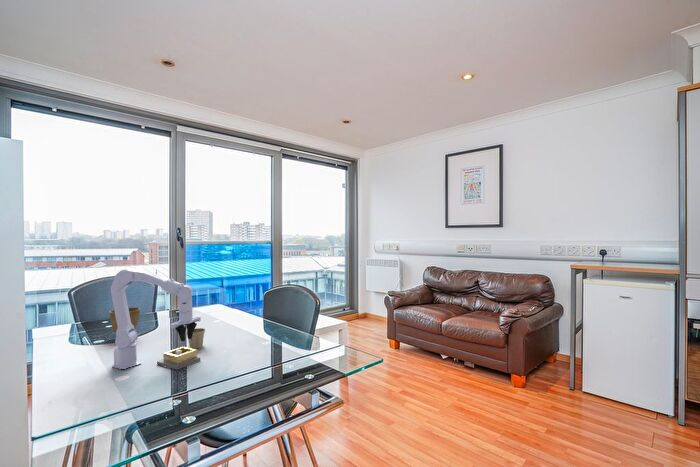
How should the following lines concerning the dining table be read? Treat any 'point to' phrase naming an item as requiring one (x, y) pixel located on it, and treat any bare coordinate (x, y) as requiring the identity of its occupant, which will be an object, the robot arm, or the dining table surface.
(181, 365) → the grey piece
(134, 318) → the plant pot
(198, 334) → the flower pot
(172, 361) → the gold square frame
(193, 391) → the dining table surface
